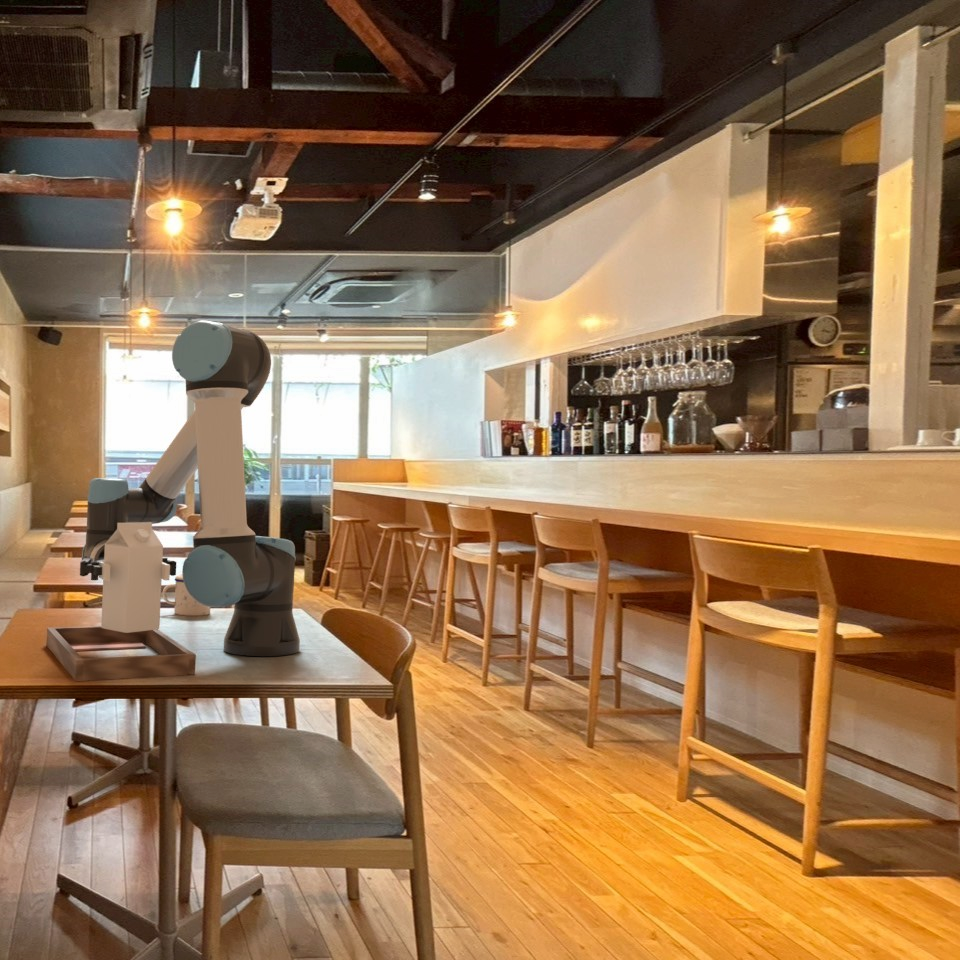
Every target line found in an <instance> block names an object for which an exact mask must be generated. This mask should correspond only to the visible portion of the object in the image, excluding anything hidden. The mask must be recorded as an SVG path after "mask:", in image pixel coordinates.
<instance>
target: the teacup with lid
mask: <svg viewBox="0 0 960 960" xmlns="http://www.w3.org/2000/svg"><path fill="white" fill-rule="evenodd" d="M174 581H175V583H174V584H173V583H170V584H167V585H166V586H164V588H162V589H163V590H162V591H161V596H162V597H163V600H164V602H165V603H166V604H168V605H174V607H173V609H174V611H173V613H174V614H175V615H178V616H187V617H192V616H193V617H199V616H201V617H202V616H206V615H209V614H211V607H209V606H205V605H202V604H200V603H199V602H197V601H196V600H195V599H194V598H193V597H192V596H191V595H190V594H189V592H188V591H187V589H186V587H185V584H184V581H183V575H182V574H178V575H175V578H174ZM170 588H175V589H174V590H175V591H174V592H175V593H174V601H171V600H169V599H168V597H167V590H168V589H170Z"/></svg>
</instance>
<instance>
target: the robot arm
mask: <svg viewBox="0 0 960 960" xmlns="http://www.w3.org/2000/svg"><path fill="white" fill-rule="evenodd" d="M171 359H172V360H171V361H172V364H173V367H174V369H175V371H176V372H177V373H178V374H179V376H180V377H181V378H182V379H184V381H185V393H186V394H185V395H187V397H188V398H189V399H191V400H192V401H193V402H194V410H193V412H192V414H191V415H190V416H189V417H188V419H187V421H186V422H185V424H184V425H182V427H181V429H180V430H179V432H178V433H177V434H176V436H175V437H174V439H173V440H172V441H171V443H169V445H168V446H167V449H166V450H165V451H164V452H163V454H162V455H161V456H160V458H159V459H158V461H157V462H156V463H155V465H154V466H153V468H152V469H151V471H150V472H149V473H148V475H147V476H146V477H145V478H144V480H143V482H142V483H141V484H140V486H138V487H129V482H128V480H126V479H124V478H109V477H108V478H105V477H103V478H101V477H95V478H92V479H91V480H90V481H89V483H88V492H87V497H86V501H87V509H86V510H87V512H86V532H85V544H84V546H83V547H82V553H81V556H82V557H81V560H80V562H79V563H80V564H79V576H80V577H85V576H86V577H87V576H88V575H89V574H90V580H91V581H98V580H99V579H101V580H104V581H110V565H109V564H107V563H105V562H104V552H105V543H106V542H107V541H108V540H109V538H110V537H111V536H112V535H113V534H114V532H115V531H116V530H117V524H118V523H148V522H151V523H152V525H155V524H160V523H166V522H169V521H170V520H171V519H172V518H173V517H174V516H175V515H176V513H177V509H178V499H177V497H179V495H180V493H181V492H182V491H183V490H184V488H185V487H186V485H188V483H189V481H190V480H191V478H192V477H193V476H194V474H195V473H196V471H197V472H198V473H197V476H198V494H199V495H198V496H199V513H200V514H199V516H200V528H199V530H197V532H196V533H195V534H194V535H193V536H192V546H193V550H191V551H190V552H189V553H188V554H187V558H185V559H184V561H183V565H182V571H181V572H182V575H183V581H184V584H185V587H186V589H187V591H188V592H189V594H190V595H191V596H192V597H193V598H194V599H195V600H196V601H197V602H199V603H200V604H202V605H205V606H209V607H210V608H229V607H232V606H234V609H233V615H232V617H231V620H230V623H229V625H228V627H227V630H226V633H225V636H224V640H223V651H225V652H226V653H229V654H232V655H238V656H239V655H240V656H248V657H251V656H252V657H279V656H287V655H292V654H293V655H294V654H296V653H299V652H300V649H301V648H300V645H301V641H300V637H299V633H298V628H297V625H296V621H295V618H294V613H293V611H294V610H293V608H294V607H293V604H294V588H295V587H294V586H295V571H296V569H295V568H296V561H297V560H296V559H297V557H296V546H295V544H294V542H293V541H292V540H289V539H286V538H279V537H271V536H260V535H256V533H255V531H254V530H252V528H250V527H249V526H248V523H247V522H248V521H247V502H246V501H247V500H246V481H245V480H246V479H245V477H246V476H245V461H244V460H245V459H244V457H245V456H244V441H243V440H244V439H243V425H242V424H243V422H242V421H243V420H242V419H243V418H242V410H243V408H249V407H251V405H252V404H253V403H254V402H255V400H256V399H257V398H258V397H259V395H260V394H261V392H262V390H263V388H264V387H265V385H266V382H267V380H268V378H269V376H270V372H271V367H272V358H271V352H270V349H269V347H268V346H267V343H266V342H265V341H264V340H263V338H261V337H260V336H259V335H258V334H257V333H255V332H252V331H251V330H247V329H243V328H242V329H241V328H238V327H234V326H231V325H227V324H224V323H223V322H219V321H209V320H199V321H196V322H195V321H194V322H192V323H190V324H188V325H186V327H185V328H184V329H182V331H181V332H180V334H178V335H177V337H176V339H175V340H174V343H173V347H172V353H171ZM170 576H172V577H174V576H177V561H175V560H169V559H168V557H163V558H162V580H163V581H170Z"/></svg>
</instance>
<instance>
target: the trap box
mask: <svg viewBox="0 0 960 960" xmlns="http://www.w3.org/2000/svg"><path fill="white" fill-rule="evenodd" d="M144 643H145V644H147V645H148V646H149V647H150V648H152V649H153V650H155V651H156V652H157V653H158V655H157V654H154V655H153V654H152V655H135V656H134V655H133V656H129V655H128V656H110V657H92V658H91V657H90V658H89V657H87V658H83V657H81V655H80V654H79V653H78V652H83V651H85V652H86V651H87V652H88V651H109V650H135V649H146V647H147V646H146V645H145V644H144ZM46 647H47V648H48V649H49V651H50V652H51V653H52V654H53V655H54V656H55V658H56V660H57V661H58V662H59V663H60V664H61V665H62V666H63V668H64V669H65V670H66V672H67V673H68V674H69V675H70V676H71V678H72V679H73V680H74V681H75V682H83V681H84V682H85V681H88V680H89V681H102V680H103V681H104V680H105V681H106V680H121V678H122V680H123V678H124V679H138V678H139V679H140V678H157V677H158V678H159V677H173V676H174V677H175V676H188V675H187V674H195V675H196V664H197V663H196V661H197V655H196V653H194V652H193V651H191V650H189V649H188V648H187V647H185V646H183V645H182V644H181V643H179V642H178V641H176V640H174V639H173V638H172V637H170V636H169V635H167V634H165V632H162V631H161V630H160V629H156V630H148V631H139V632H130V633H124V632H119V631H114V630H109V629H104V628H101V625H96V626H95V625H94V626H93V625H92V626H88V625H87V626H67V627H66V626H64V627H61V626H60V627H46Z"/></svg>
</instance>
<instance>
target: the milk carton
mask: <svg viewBox="0 0 960 960" xmlns="http://www.w3.org/2000/svg"><path fill="white" fill-rule="evenodd" d="M163 550H164V546H163V544H162V542H161V541H160V539H159V538H158V536H157V534H156V532H155V531H154V529H153V524H152V523H151V522H148V523H118V524H117V530H116V531H115V532H114V534H113V535H112V536H111V537H110V538H109V540H108V541H107V542H106V543H105V552H104V562H105V563H107V564H109V565H110V581H104V580H103V579H102V580H103V582H102V602H101V621H100V622H101V625H100V626H101V628H104V629H109V630H114V631H119V632H124V633H130V632H139V631H148V630H156V629H158V630H160V623H161V604H162V603H161V602H162V600H161V599H162V598H161V597H162V582H163V581H162V580H163V579H162V558H164V557H163V555H164V552H163Z"/></svg>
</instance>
